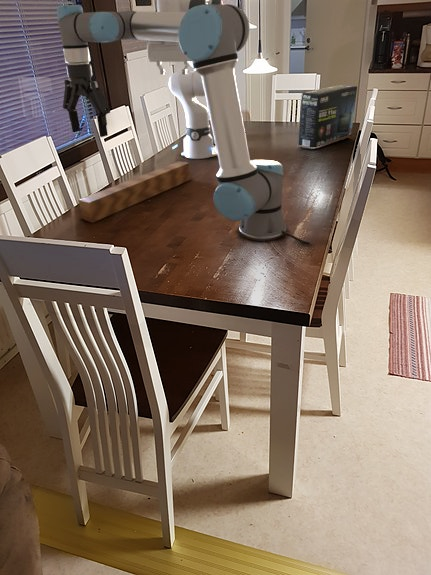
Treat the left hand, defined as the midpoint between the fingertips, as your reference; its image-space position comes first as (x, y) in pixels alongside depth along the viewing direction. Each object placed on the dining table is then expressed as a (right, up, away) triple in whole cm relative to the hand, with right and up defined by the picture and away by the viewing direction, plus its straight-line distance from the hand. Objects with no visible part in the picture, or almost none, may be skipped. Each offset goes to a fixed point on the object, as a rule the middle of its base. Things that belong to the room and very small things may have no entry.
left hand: (173, 74), depth 183 cm
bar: (-13, -50, -1) cm, 51 cm away
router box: (+75, -8, +61) cm, 98 cm away
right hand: (-25, -34, -30) cm, 52 cm away
